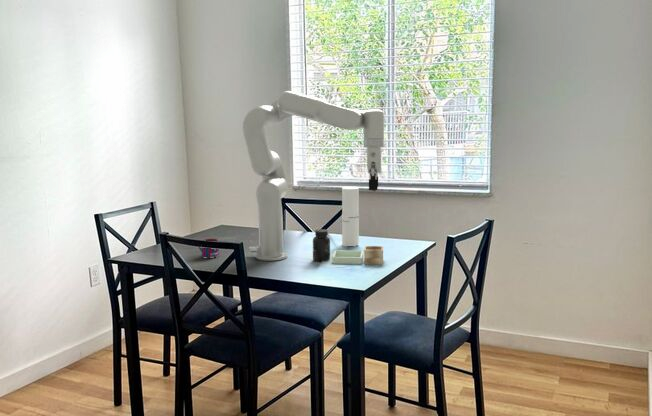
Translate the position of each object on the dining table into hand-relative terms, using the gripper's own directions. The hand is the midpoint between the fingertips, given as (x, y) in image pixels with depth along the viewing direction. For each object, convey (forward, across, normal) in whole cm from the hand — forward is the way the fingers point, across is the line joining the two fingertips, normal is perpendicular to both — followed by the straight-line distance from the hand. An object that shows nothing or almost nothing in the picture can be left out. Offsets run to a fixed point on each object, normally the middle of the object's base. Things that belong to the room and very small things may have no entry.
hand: (373, 188), depth 232 cm
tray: (+29, 0, +10) cm, 30 cm away
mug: (+28, +4, +67) cm, 73 cm away
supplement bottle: (+29, +1, +20) cm, 35 cm away
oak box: (+29, -2, 0) cm, 29 cm away
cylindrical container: (+29, +29, +11) cm, 42 cm away
